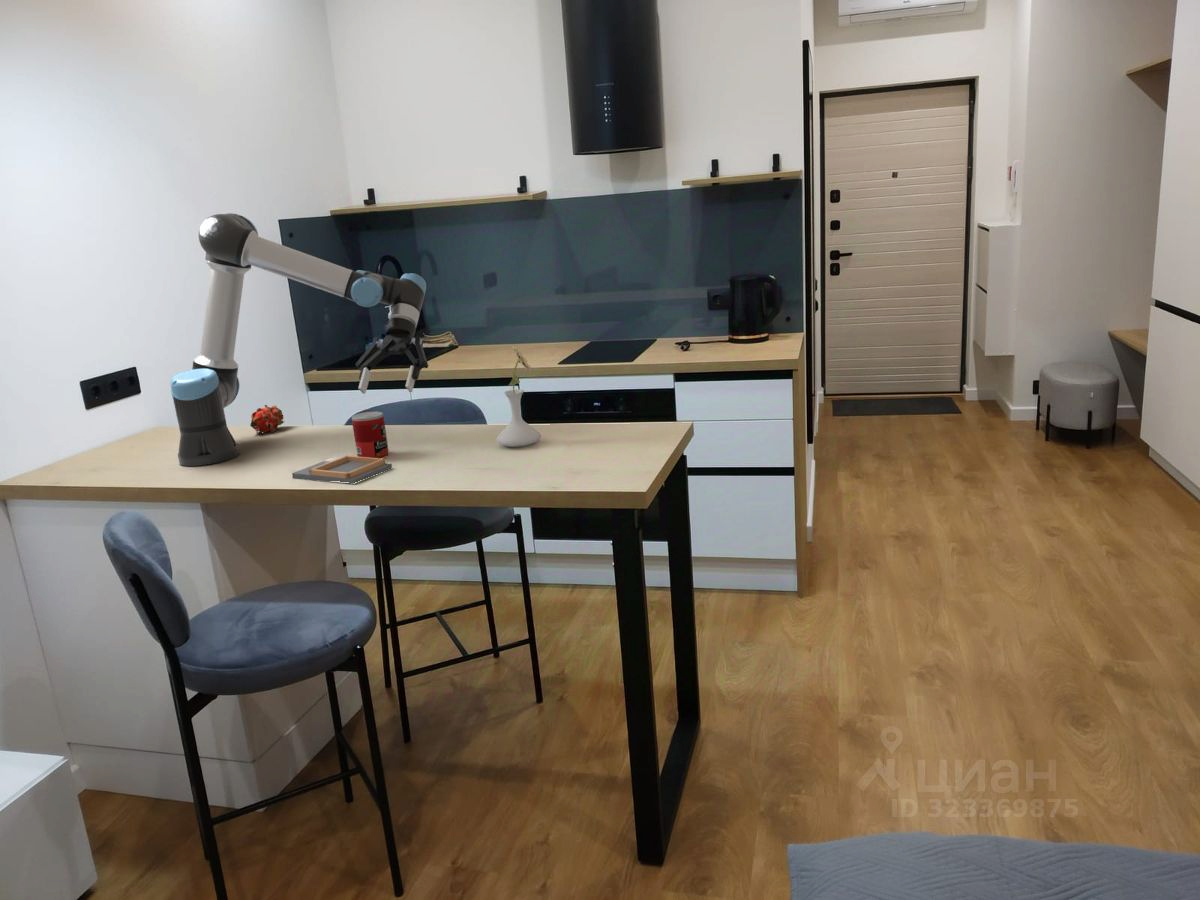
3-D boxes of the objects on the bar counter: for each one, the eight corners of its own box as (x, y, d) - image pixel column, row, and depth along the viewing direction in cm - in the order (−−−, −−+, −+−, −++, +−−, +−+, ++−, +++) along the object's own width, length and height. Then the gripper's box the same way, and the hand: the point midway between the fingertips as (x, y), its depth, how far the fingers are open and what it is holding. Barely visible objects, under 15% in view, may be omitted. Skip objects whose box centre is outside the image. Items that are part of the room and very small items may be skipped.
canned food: (381, 460, 233) (375, 418, 230) (352, 461, 235) (345, 419, 232) (394, 452, 240) (388, 410, 237) (365, 453, 242) (359, 411, 239)
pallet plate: (292, 477, 224) (291, 468, 223) (332, 462, 235) (330, 453, 234) (353, 484, 214) (352, 474, 213) (392, 468, 225) (390, 459, 224)
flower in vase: (531, 450, 230) (521, 350, 224) (489, 450, 234) (478, 352, 228) (550, 436, 242) (541, 341, 236) (510, 436, 246) (500, 343, 239)
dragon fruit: (288, 431, 282) (259, 447, 273) (267, 415, 284) (237, 430, 274) (294, 410, 277) (264, 426, 268) (273, 394, 279) (242, 409, 269)
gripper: (449, 330, 253) (434, 396, 243) (367, 334, 260) (349, 399, 250) (439, 313, 247) (422, 380, 237) (355, 318, 254) (335, 383, 244)
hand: (385, 390), depth 244 cm, fingers open, 13 cm apart
